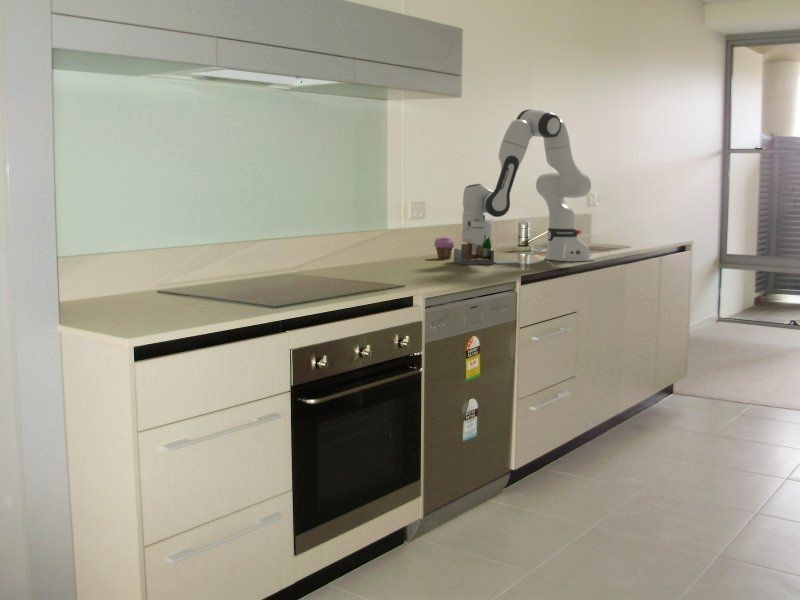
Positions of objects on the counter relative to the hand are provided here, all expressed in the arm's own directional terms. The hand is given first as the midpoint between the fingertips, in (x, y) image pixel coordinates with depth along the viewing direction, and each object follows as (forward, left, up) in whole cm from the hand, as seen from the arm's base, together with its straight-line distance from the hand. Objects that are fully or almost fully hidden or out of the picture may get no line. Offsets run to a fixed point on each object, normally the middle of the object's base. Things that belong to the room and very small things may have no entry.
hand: (472, 254), depth 380 cm
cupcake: (+7, -20, -4) cm, 22 cm away
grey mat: (-14, +3, -4) cm, 15 cm away
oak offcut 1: (+3, +5, -4) cm, 7 cm away
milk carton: (-9, -15, -4) cm, 18 cm away
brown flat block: (0, 0, -4) cm, 4 cm away
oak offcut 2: (-3, +6, -4) cm, 7 cm away
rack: (0, +3, -4) cm, 5 cm away
